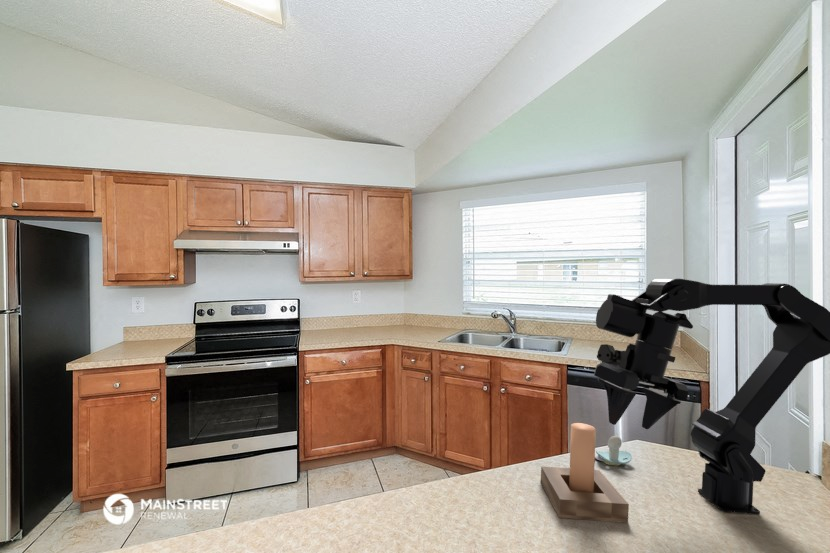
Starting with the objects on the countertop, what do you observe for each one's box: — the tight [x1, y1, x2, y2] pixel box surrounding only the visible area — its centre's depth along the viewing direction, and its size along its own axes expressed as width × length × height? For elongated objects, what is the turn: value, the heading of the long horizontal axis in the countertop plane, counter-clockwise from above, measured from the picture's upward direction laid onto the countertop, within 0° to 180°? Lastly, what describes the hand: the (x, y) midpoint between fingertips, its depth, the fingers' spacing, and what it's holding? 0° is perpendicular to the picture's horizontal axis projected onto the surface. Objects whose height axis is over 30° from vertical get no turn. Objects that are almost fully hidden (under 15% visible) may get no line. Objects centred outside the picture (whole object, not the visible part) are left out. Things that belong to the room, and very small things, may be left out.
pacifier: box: [595, 435, 633, 466], centre depth 84 cm, size 7×6×6 cm
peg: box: [569, 422, 597, 493], centre depth 68 cm, size 4×4×12 cm
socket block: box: [540, 466, 630, 523], centre depth 68 cm, size 11×11×3 cm
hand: (628, 426), depth 71 cm, fingers open, 9 cm apart
